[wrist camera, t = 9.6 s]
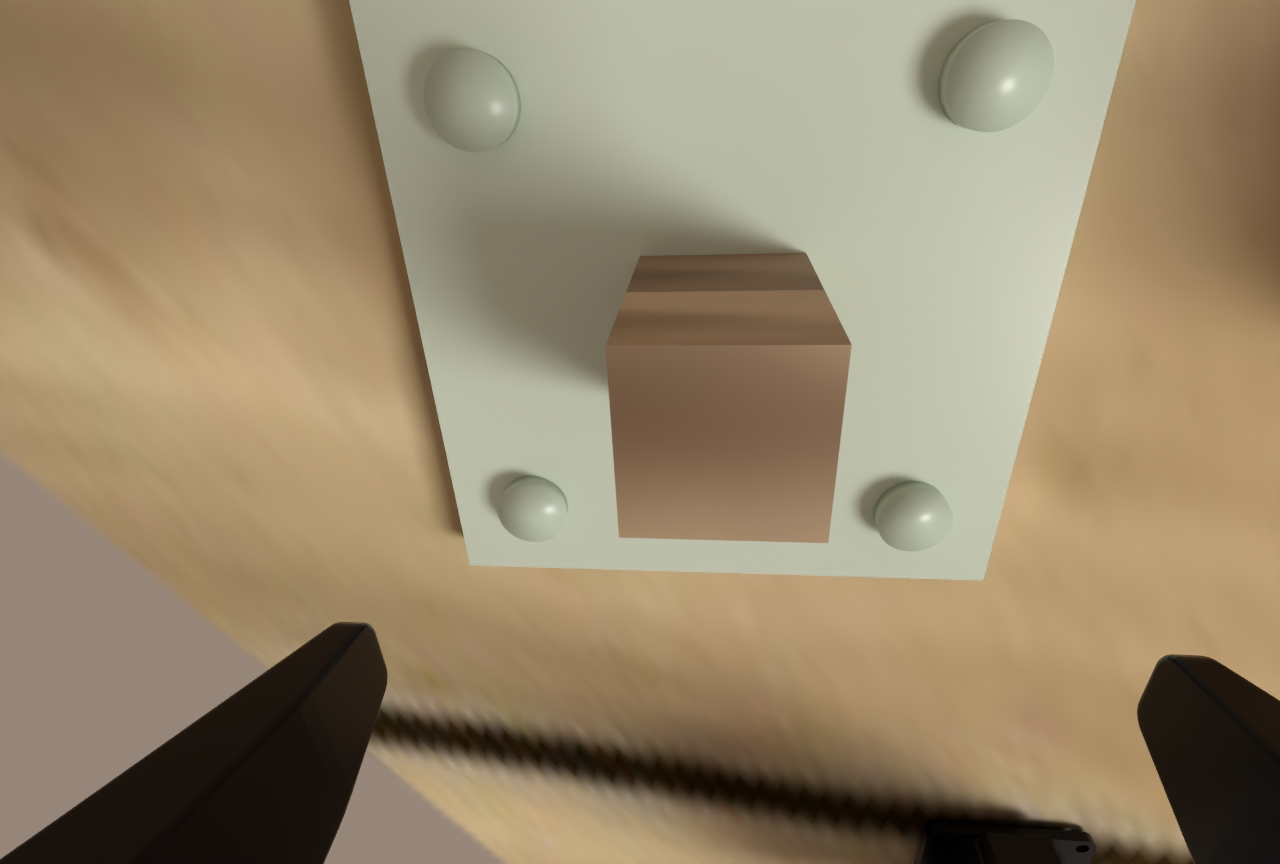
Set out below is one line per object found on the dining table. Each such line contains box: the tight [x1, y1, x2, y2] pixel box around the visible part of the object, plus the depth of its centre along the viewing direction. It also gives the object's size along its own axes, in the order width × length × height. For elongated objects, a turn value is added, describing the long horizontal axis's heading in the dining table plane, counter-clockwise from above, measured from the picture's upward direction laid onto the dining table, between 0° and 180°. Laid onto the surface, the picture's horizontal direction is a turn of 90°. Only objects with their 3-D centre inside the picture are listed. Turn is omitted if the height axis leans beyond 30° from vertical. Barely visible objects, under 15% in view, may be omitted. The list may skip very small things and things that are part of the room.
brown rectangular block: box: [605, 253, 852, 543], centre depth 14 cm, size 4×4×6 cm
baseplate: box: [349, 0, 1136, 580], centre depth 17 cm, size 16×16×2 cm
